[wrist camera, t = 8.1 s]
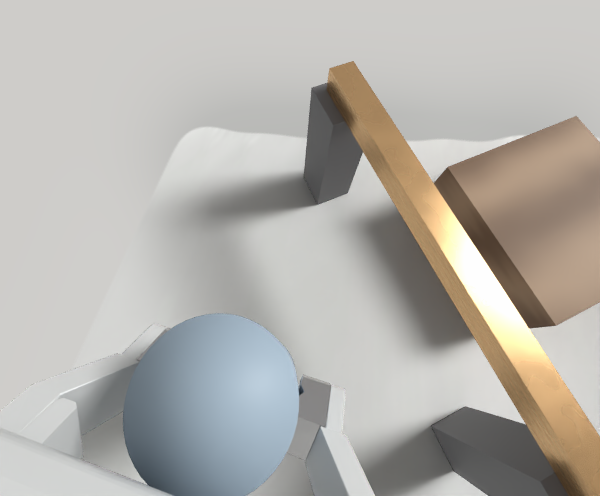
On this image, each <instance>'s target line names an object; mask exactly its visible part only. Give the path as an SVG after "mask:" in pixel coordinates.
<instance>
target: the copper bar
mask: <svg viewBox="0 0 600 496" xmlns="http://www.w3.org/2000/svg"><path fill="white" fill-rule="evenodd" d="M326 90H327V92H328V94H329V95H330V97H331V99H332V100H333V102H334V104H335V105H336V107H337V109H338V111H339V112H340V114H341V116H342V117H343V119H344V121H345V122H346V124H347V126H348V127H349V129H350V131H351V132H352V134H353V136H354V137H355V139H356V141H357V142H358V144H359V146H360V147H361V149H362V151H363V152H364V154H365V156H366V157H367V159H368V161H369V162H370V164H371V166H372V167H373V169H374V171H375V172H376V174H377V176H378V177H379V179H380V181H381V182H382V184H383V186H384V187H385V189H386V191H387V193H388V194H389V196H390V198H391V199H392V201H393V203H394V204H395V206H396V208H397V209H398V211H399V213H400V214H401V216H402V218H403V219H404V221H405V223H406V224H407V226H408V228H409V229H410V231H411V233H412V234H413V236H414V238H415V239H416V241H417V243H418V244H419V246H420V248H421V249H422V251H423V253H424V254H425V256H426V258H427V259H428V261H429V263H430V264H431V266H432V268H433V270H434V271H435V273H436V275H437V276H438V278H439V280H440V281H441V283H442V285H443V286H444V288H445V290H446V291H447V293H448V295H449V296H450V298H451V300H452V301H453V303H454V305H455V306H456V308H457V310H458V311H459V313H460V315H461V316H462V318H463V320H464V321H465V323H466V325H467V326H468V328H469V330H470V331H471V333H472V335H473V336H474V338H475V340H476V341H477V343H478V345H479V347H480V348H481V350H482V352H483V353H484V355H485V357H486V358H487V360H488V362H489V363H490V365H491V367H492V368H493V370H494V372H495V373H496V375H497V377H498V378H499V380H500V382H501V383H502V385H503V387H504V388H505V390H506V392H507V393H508V395H509V397H510V398H511V400H512V402H513V403H514V405H515V407H516V408H517V410H518V412H519V413H520V415H521V417H522V418H523V420H524V422H525V423H526V425H527V427H528V429H529V430H530V432H531V434H532V435H533V437H534V439H535V440H536V442H537V444H538V445H539V447H540V449H541V450H542V452H543V454H544V455H545V457H546V459H547V460H548V462H549V464H550V465H551V467H552V469H553V470H554V472H555V474H556V475H557V477H558V479H559V480H560V482H561V484H562V485H563V487H564V489H565V490H566V492H567V494H568V495H569V496H600V436H599V435H598V433H597V432H596V430H595V429H594V427H593V426H592V424H591V422H590V421H589V419H588V418H587V416H586V415H585V413H584V412H583V410H582V409H581V407H580V406H579V404H578V403H577V401H576V400H575V398H574V397H573V395H572V394H571V392H570V390H569V389H568V387H567V386H566V384H565V383H564V381H563V380H562V378H561V377H560V375H559V374H558V372H557V371H556V369H555V368H554V366H553V365H552V363H551V362H550V360H549V358H548V357H547V355H546V354H545V352H544V351H543V349H542V348H541V346H540V345H539V343H538V342H537V340H536V339H535V337H534V336H533V334H532V333H531V331H530V330H529V328H528V326H527V325H526V323H525V322H524V320H523V319H522V317H521V316H520V314H519V313H518V311H517V310H516V308H515V307H514V305H513V304H512V302H511V301H510V299H509V298H508V296H507V294H506V293H505V291H504V290H503V288H502V287H501V285H500V284H499V282H498V281H497V279H496V278H495V276H494V275H493V273H492V272H491V270H490V269H489V267H488V266H487V264H486V263H485V261H484V259H483V258H482V256H481V255H480V253H479V252H478V250H477V249H476V247H475V246H474V244H473V243H472V241H471V240H470V238H469V237H468V235H467V234H466V232H465V231H464V229H463V227H462V226H461V224H460V223H459V221H458V220H457V218H456V217H455V215H454V214H453V212H452V211H451V209H450V208H449V206H448V205H447V203H446V202H445V200H444V199H443V197H442V195H441V194H440V192H439V191H438V189H437V188H436V186H435V185H434V183H433V182H432V180H431V179H430V177H429V176H428V174H427V173H426V171H425V170H424V168H423V167H422V165H421V163H420V162H419V160H418V159H417V157H416V156H415V154H414V153H413V151H412V150H411V148H410V147H409V145H408V144H407V142H406V141H405V139H404V138H403V136H402V135H401V133H400V132H399V130H398V129H397V127H396V125H395V124H394V122H393V121H392V119H391V118H390V116H389V115H388V113H387V112H386V110H385V109H384V107H383V106H382V104H381V103H380V101H379V99H378V98H377V97H376V95H375V93H374V92H373V91H372V89H371V87H370V86H369V84H368V83H367V81H366V80H365V78H364V77H363V75H362V74H361V72H360V71H359V69H358V68H357V66H356V64H355V63H354V61H352V62H349V63H346V64H342V65H339V66H336V67H333V68H330V69H329V76H328V83H327V89H326Z"/></svg>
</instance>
